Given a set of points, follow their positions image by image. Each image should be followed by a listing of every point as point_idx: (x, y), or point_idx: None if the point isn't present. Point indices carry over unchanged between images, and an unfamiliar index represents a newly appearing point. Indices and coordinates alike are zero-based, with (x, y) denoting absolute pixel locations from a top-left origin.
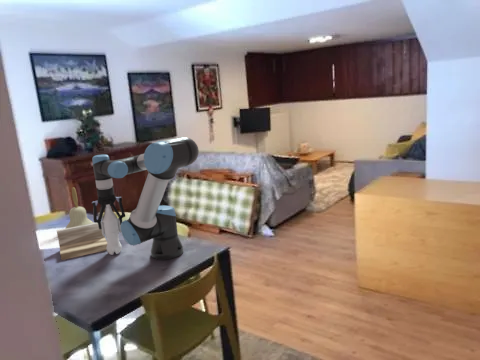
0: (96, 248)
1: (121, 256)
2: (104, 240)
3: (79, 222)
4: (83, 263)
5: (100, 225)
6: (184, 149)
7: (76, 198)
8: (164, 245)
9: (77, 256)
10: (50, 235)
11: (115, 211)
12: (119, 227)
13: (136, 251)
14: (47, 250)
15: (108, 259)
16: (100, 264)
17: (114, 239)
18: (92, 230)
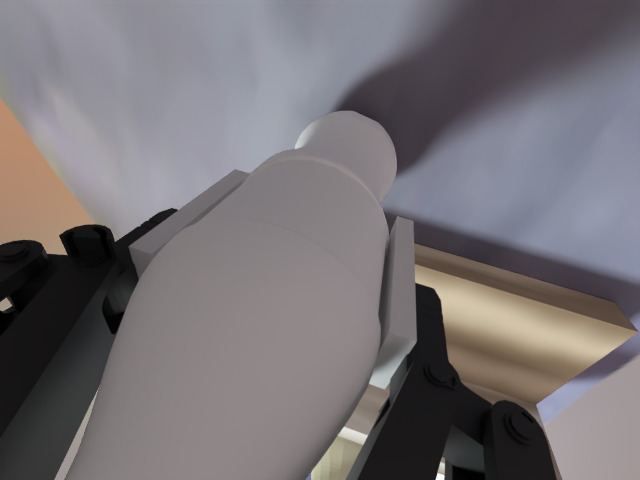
0: (418, 257)
1: (344, 47)
2: None
3: (347, 471)
4: (594, 149)
5: (418, 324)
6: None
7: None
8: None
9: (525, 276)
10: (439, 475)
11: (2, 417)
12: (217, 196)
13: (235, 55)
14: (544, 420)
15: (436, 69)
16: (543, 6)
17: (330, 141)
18: (366, 394)
